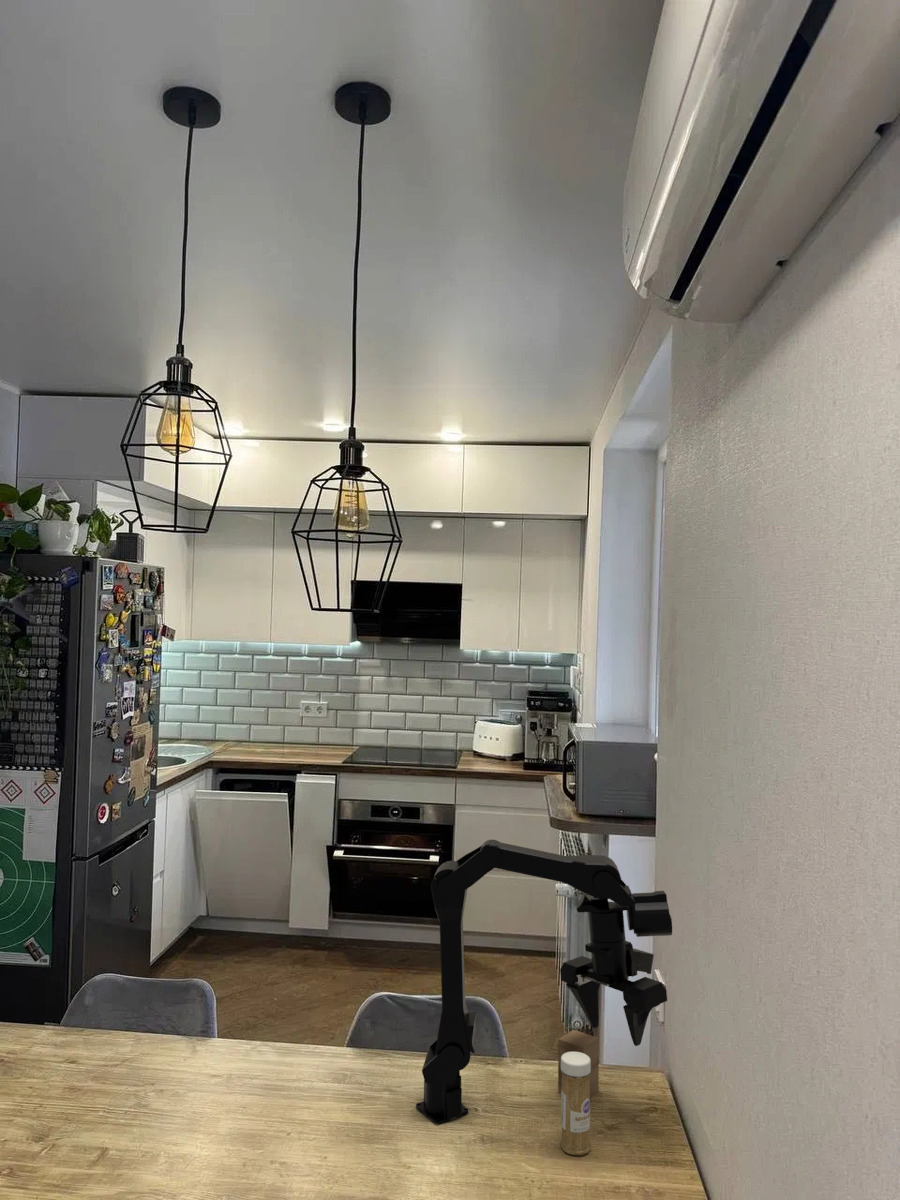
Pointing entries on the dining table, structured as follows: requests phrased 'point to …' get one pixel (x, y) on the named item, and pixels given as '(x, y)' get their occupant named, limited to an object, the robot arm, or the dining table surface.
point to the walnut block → (582, 1044)
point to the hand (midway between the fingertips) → (615, 1036)
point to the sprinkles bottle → (575, 1103)
